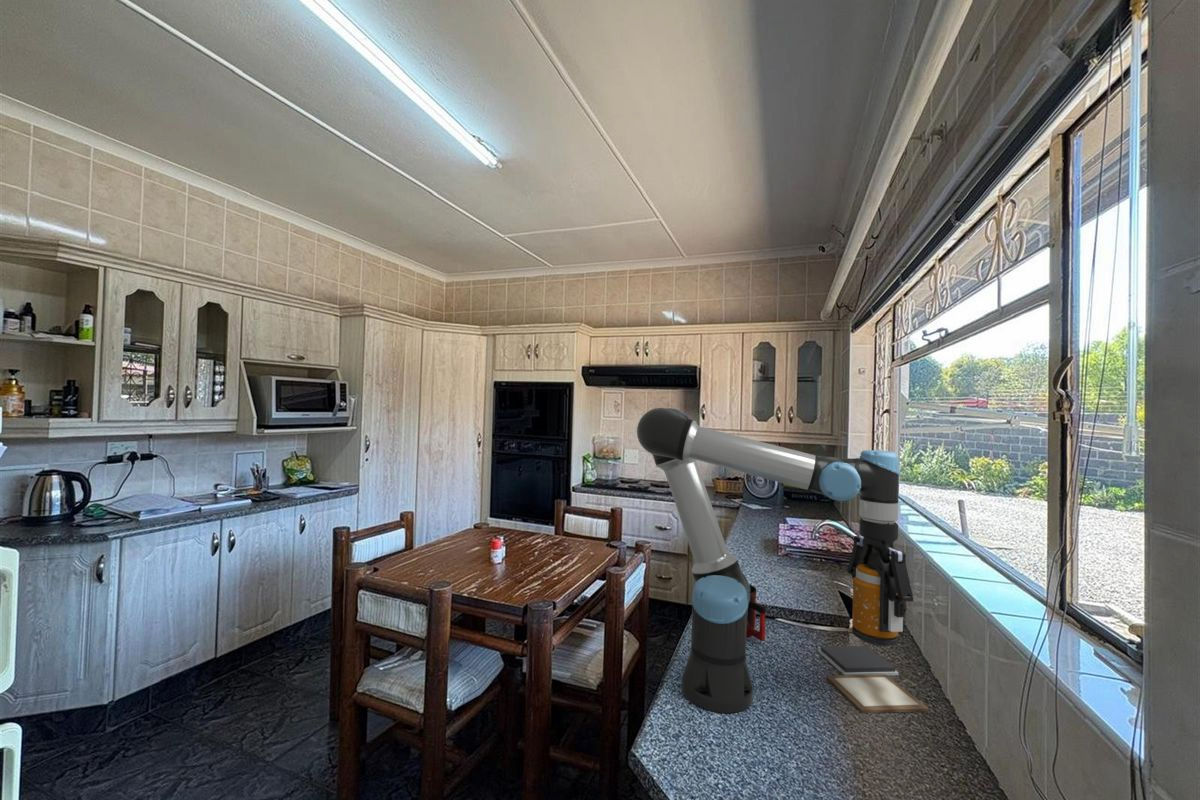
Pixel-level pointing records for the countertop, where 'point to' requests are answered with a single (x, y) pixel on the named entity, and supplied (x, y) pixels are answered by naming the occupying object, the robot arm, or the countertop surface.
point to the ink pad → (857, 660)
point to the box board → (876, 694)
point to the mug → (752, 615)
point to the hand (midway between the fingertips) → (876, 619)
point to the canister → (872, 605)
